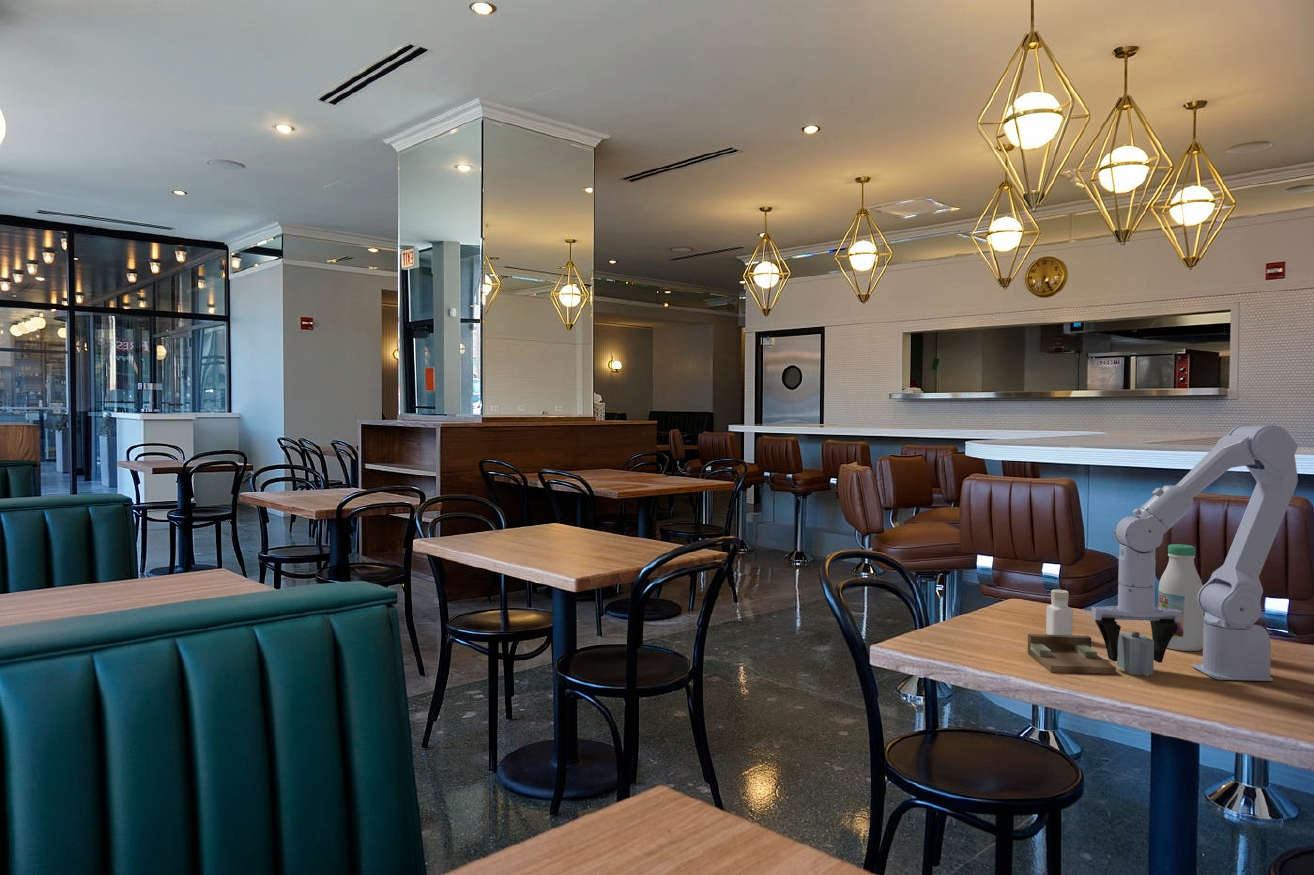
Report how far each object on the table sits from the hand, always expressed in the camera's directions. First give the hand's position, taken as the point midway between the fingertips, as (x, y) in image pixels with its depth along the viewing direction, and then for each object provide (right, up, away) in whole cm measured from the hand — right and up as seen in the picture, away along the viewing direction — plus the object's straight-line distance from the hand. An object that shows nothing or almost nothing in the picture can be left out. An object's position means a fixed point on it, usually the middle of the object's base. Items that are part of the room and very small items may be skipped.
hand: (1134, 660), depth 153 cm
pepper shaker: (-3, -1, +22) cm, 23 cm away
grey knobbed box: (0, -2, -1) cm, 2 cm away
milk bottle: (+17, -2, +16) cm, 23 cm away
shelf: (-10, -2, +4) cm, 11 cm away
